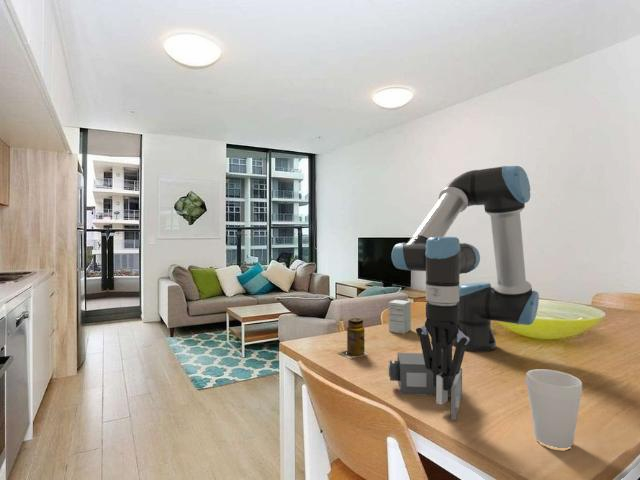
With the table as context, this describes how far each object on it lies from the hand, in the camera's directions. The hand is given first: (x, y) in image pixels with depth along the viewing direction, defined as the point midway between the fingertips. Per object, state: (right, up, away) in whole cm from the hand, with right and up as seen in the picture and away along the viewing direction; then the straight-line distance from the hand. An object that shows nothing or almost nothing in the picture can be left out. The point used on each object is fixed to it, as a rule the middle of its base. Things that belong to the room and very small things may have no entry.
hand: (442, 401), depth 88 cm
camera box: (-2, -2, +13) cm, 13 cm away
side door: (+4, -2, +1) cm, 5 cm away
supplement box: (+5, -1, +72) cm, 72 cm away
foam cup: (+18, -3, -13) cm, 22 cm away
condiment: (-17, -2, +42) cm, 45 cm away
